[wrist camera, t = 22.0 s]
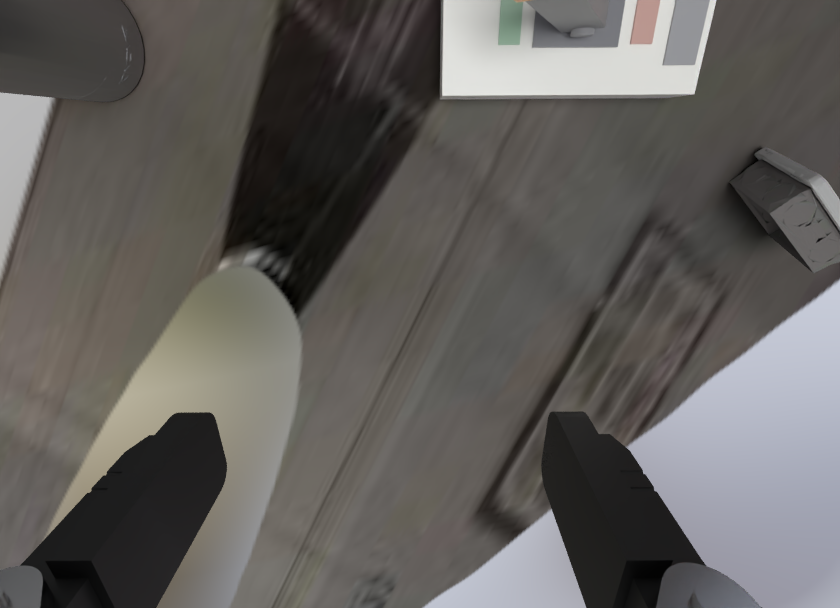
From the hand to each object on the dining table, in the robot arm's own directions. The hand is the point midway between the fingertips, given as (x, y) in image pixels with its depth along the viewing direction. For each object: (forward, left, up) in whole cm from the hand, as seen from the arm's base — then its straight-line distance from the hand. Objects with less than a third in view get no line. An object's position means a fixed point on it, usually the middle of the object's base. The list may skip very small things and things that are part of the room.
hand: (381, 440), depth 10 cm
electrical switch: (+32, +12, -32) cm, 47 cm away
